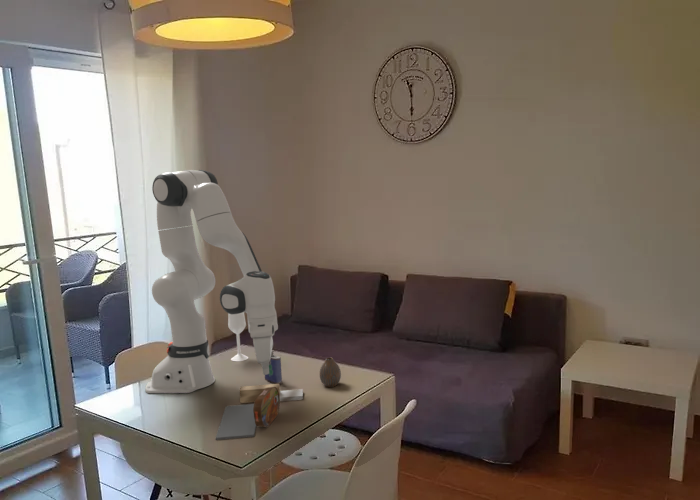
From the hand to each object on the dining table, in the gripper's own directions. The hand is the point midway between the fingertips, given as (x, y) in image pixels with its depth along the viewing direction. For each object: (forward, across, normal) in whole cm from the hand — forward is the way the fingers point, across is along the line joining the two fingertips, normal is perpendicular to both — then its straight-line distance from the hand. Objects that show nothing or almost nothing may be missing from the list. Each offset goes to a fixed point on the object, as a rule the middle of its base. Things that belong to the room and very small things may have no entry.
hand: (267, 369), depth 180 cm
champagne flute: (+9, -46, -14) cm, 48 cm away
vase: (+10, -9, +19) cm, 23 cm away
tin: (+10, +16, 0) cm, 19 cm away
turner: (+10, -1, 0) cm, 10 cm away
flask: (+10, -17, 0) cm, 19 cm away
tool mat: (+10, +15, -8) cm, 20 cm away
